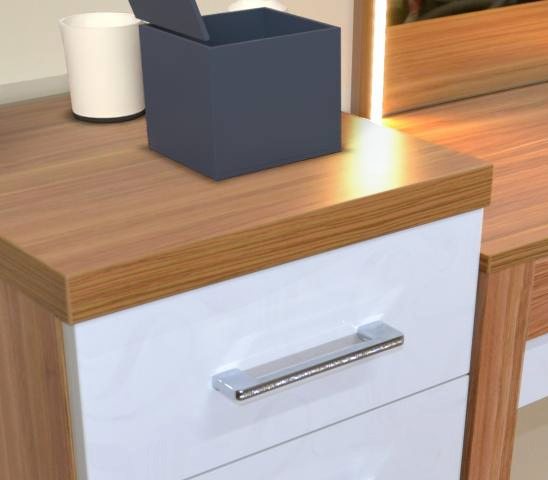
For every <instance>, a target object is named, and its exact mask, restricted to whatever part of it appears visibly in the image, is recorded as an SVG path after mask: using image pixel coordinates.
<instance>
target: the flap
mask: <svg viewBox="0 0 548 480" xmlns="http://www.w3.org/2000/svg"><path fill="white" fill-rule="evenodd" d="M127 1H128V4H129V6H130V8H131V10H132V11H131V12H132V14H134V15H135V18H137V19H140V20H143V21H146V22H149V23H152V24H155V25H158V26H161V27H164V28H167V29H170V30H173V31H176V32H179V33H182V34H185V35H188V36H191V37H194V38H197V39H200V40H203V41H208V40H209V39H210V37H209V35H208V32H207V29H206V27H205V24H204V22H203V19H202V16H203V15H202V14H201V12H200V11H201V10H200V9H199V5H198V3H197V1H196V0H127Z"/></svg>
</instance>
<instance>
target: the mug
mask: <svg viewBox="0 0 548 480" xmlns="http://www.w3.org/2000/svg"><path fill="white" fill-rule="evenodd" d="M146 23H149V22H146V21H143V20H140V19H137V18H135V15H134V13H129V12H128V13H127V12H119V11H98V12H96V11H93V12H84V13H78V14H72V15H68V16H65V17H62V18H60V19H59V20H58V26H59V30H60V36H61V40H62V45H63V50H64V51H63V52H64V58H65V66H66V72H67V73H66V74H67V80H68V88H69V95H70V103H71V109H72V110H71V111H72V115H73V116H74V117H75V119H77V120H80V121H82V122H89V123H98V124H99V123H101V124H104V123H105V124H106V123H107V124H109V123H120V122H126V121H127V122H128V121H131V120H134V119H137V118H141V117H142V116H143V115H144V113H146V112H145V100H144V87H143V75H142V63H141V51H140V38H139V26H138V25H139V24H146Z"/></svg>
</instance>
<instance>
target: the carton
mask: <svg viewBox="0 0 548 480" xmlns="http://www.w3.org/2000/svg"><path fill="white" fill-rule="evenodd" d="M201 16H202V19H203V22H204V24H205V27H206V29H207V32H208V35H209V37H210V39H209V40H208V41H203V40H200V39H197V38H194V37H191V36H188V35H185V34H182V33H179V32H176V31H173V30H170V29H167V28H164V27H161V26H158V25H155V24H152V23H146V24H139V25H138V26H139V38H140V51H141V63H142V75H143V87H144V100H145V112H144V113H145V124H146V134H147V135H146V136H147V147H148V149H150V150H152V151H154V152H157V153H158V154H160V155H162V156H164V157H166V158H168V159H170V160H173V161H174V162H177V163H178V164H181V165H183V166H185V167H186V168H189V169H191V170H193V171H196V172H197V173H199V174H202V175H203V176H206V177H208V178H210V179H212V180H214V181H216V182H218V181H222V180H226V179H229V178H235V177H239V176H243V175H246V174H252V173H256V172H260V171H263V170H268V169H272V168H275V167H280V166H284V165H288V164H292V163H297V162H301V161H307V160H310V159H314V158H318V157H323V156H326V155H331V154H334V153H339V152H342V27H341V26H337V25H334V24H330V23H326V22H322V21H318V20H316V19H312V18H308V17H304V16H301V15H297V14H294V13H289V12H288V13H286V12H283V11H279V10H275V9H272V8H268V7H260V8H252V9H245V10H238V11H231V12H227V11H224V12H217V13H211V14H203V15H201Z"/></svg>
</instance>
